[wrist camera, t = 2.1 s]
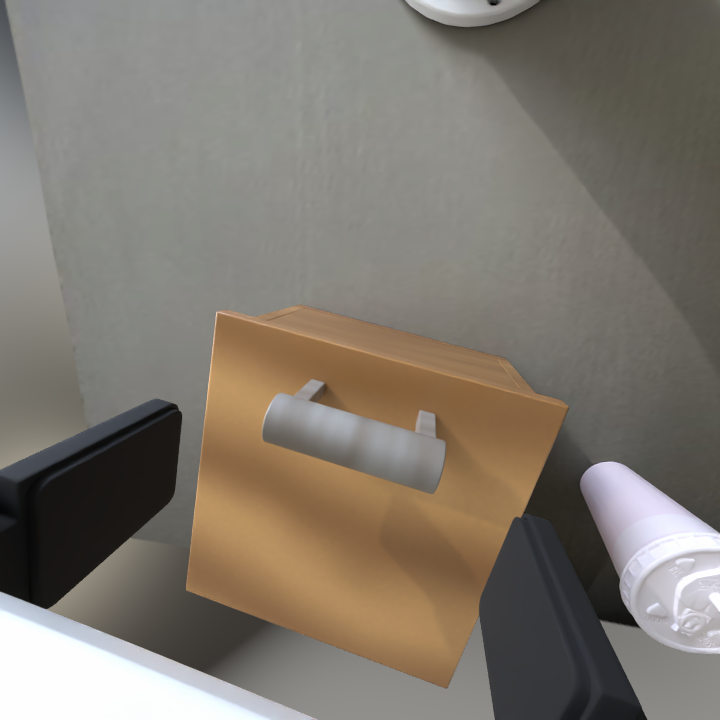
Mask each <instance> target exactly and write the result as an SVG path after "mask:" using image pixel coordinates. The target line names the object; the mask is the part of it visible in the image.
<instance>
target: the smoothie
mask: <svg viewBox="0 0 720 720" xmlns="http://www.w3.org/2000/svg"><path fill="white" fill-rule="evenodd" d="M580 489H581V492H582V494H583V497H584V499H585V501H586V503H587V506H588V508H589V510H590V512H591V515H592V517H593V519H594V521H595V524H596V526H597V528H598V530H599V533H600V535H601V537H602V539H603V542H604V544H605V546H606V548H607V551H608V553H609V555H610V557H611V560H612V562H613V564H614V567H615V569H616V571H617V573H618V576H619V578H620V585H619V587H620V592H621V597H622V600H623V602H624V604H625V606H626V607H627V609H628V611H629V612H630V613H631V614H632V615H633V617H634V619H635V620H636V622H637V624H638V625H639V626H640V627H641V629H642V630H643V631H644V632H645V633H647V634H648V635H649V636H650V637H652V638H653V639H655V640H656V641H658V642H660V643H662V644H664V645H666V646H668V647H671V648H673V649H677V650H680V651H684V652H689V653H695V654H720V533H718V532H717V531H716V530H714V529H713V528H712V527H710V526H709V525H707V524H706V523H704V522H703V521H701V520H700V519H699V518H697V517H696V516H695V515H693V514H692V513H690V512H689V511H688V510H686V509H685V508H683V507H682V506H681V505H679V504H678V503H677V502H675V501H674V500H672V499H671V498H670V497H668V496H667V495H665V494H664V493H663V492H661V491H660V490H659V489H657V488H656V487H654V486H653V485H652V484H650V483H649V482H647V481H646V480H645V479H643V478H642V477H641V476H639V475H638V474H636V473H635V472H634V471H632V470H631V469H629V468H628V467H627V466H625V465H623V464H620V463H617V462H602V463H598V464H596V465H593V466H592V467H590V468H589V469H588V470H586V472H585V473H584V474H583V476H582V478H581V481H580Z"/></svg>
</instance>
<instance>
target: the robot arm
mask: <svg viewBox="0 0 720 720" xmlns="http://www.w3.org/2000/svg"><path fill="white" fill-rule="evenodd" d="M405 1H406V2H407V3H408V4H409V5H410V6H411V7H413V8H414V9H416V10H417V11H418V12H420V13H421V14H423V15H424V16H426V17H427V18H430V19H432V20H435V21H438V22H440V23H443V24H445V25H452V26H460V27H475V26H485V25H490V24H493V23H497V22H500V21H503V20H506V19H510V18H511V17H513V16H515V15H517V14H519V13H521V12H523V11H525V10H527V9H529V8H530V7H532V6H533V5H535V4H536V3H537V2H539V1H540V0H405ZM491 3H495V4H497V5H496V6H491V5H490V4H491ZM181 423H182V413H181V412H180V411H179V409H178V406H177V405H176V404H173V403H170V402H167V401H164V400H160V399H153V400H150V401H148V402H146V403H144V404H142V405H140V406H137V407H135V408H133V409H131V410H129V411H127V412H124V413H122V414H120V415H118V416H116V417H114V418H111V419H109V420H107V421H105V422H103V423H101V424H98V425H96V426H94V427H92V428H90V429H88V430H85V431H83V432H81V433H79V434H77V435H75V436H73V437H70V438H68V439H66V440H64V441H62V442H59V443H57V444H55V445H53V446H51V447H49V448H46V449H44V450H42V451H40V452H38V453H36V454H33V455H31V456H29V457H27V458H25V459H23V460H21V461H18V462H16V463H14V464H12V465H10V466H8V467H5V468H3V469H1V470H0V720H317V719H315V718H313V717H310V716H308V715H305V714H303V713H301V712H298V711H296V710H293V709H290V708H288V707H286V706H283V705H281V704H279V703H276V702H274V701H271V700H269V699H266V698H264V697H261V696H259V695H256V694H254V693H252V692H249V691H247V690H244V689H242V688H239V687H237V686H234V685H232V684H229V683H227V682H225V681H222V680H220V679H217V678H215V677H212V676H210V675H208V674H205V673H203V672H200V671H198V670H195V669H193V668H190V667H188V666H185V665H183V664H181V663H178V662H175V661H173V660H171V659H168V658H166V657H163V656H161V655H158V654H156V653H153V652H151V651H148V650H146V649H143V648H141V647H139V646H136V645H134V644H131V643H129V642H126V641H123V640H121V639H119V638H116V637H114V636H111V635H109V634H106V633H104V632H101V631H98V630H96V629H94V628H91V627H89V626H86V625H84V624H81V623H79V622H76V621H74V620H71V619H69V618H66V617H64V616H61V615H58V614H56V613H54V612H51V611H48V610H46V609H48V608H50V607H51V606H53V605H54V604H56V603H57V602H58V601H59V600H60V599H61V598H62V597H64V595H66V594H67V593H68V592H69V591H70V590H71V589H72V588H74V587H75V586H76V585H77V584H78V583H79V582H80V581H82V580H83V579H84V578H85V577H86V576H87V575H88V574H89V573H90V572H92V571H93V570H94V569H95V568H96V567H97V566H98V565H99V564H101V563H102V562H103V561H104V560H105V559H106V558H107V557H109V556H110V555H111V554H112V553H113V552H114V551H115V550H116V549H118V548H119V547H120V546H121V545H122V544H123V543H124V542H125V541H127V540H128V539H129V538H130V537H131V536H132V535H133V534H134V533H136V532H137V531H138V530H139V529H140V528H141V527H142V526H143V525H145V524H146V523H147V522H148V521H149V520H150V519H151V518H153V517H154V516H155V515H156V514H157V513H158V512H159V511H160V510H162V509H163V508H164V507H165V506H166V505H167V504H168V503H169V502H170V500H171V499H172V497H173V495H174V492H175V485H176V474H177V464H178V454H179V444H180V434H181ZM479 615H480V622H481V629H482V635H483V642H484V649H485V655H486V662H487V669H488V676H489V683H490V689H491V696H492V702H493V709H494V716H495V720H647V718H646V716H645V714H644V712H643V710H642V707H641V705H640V703H639V700H638V698H637V696H636V695H635V692H634V690H633V688H632V686H631V684H630V682H629V680H628V678H627V676H626V674H625V672H624V670H623V668H622V666H621V664H620V662H619V660H618V658H617V656H616V654H615V652H614V650H613V648H612V646H611V644H610V641H609V639H608V637H607V636H606V633H605V631H604V629H603V627H602V625H601V623H600V621H599V619H598V617H597V615H596V613H595V611H594V609H593V607H592V605H591V603H590V601H589V598H588V596H587V594H586V592H585V590H584V588H583V586H582V584H581V582H580V580H579V578H578V576H577V574H576V572H575V570H574V568H573V566H572V564H571V562H570V560H569V558H568V556H567V554H566V552H565V550H564V547H563V545H562V543H561V541H560V539H559V537H558V535H557V533H556V531H555V529H554V527H553V525H552V523H551V522H550V521H549V520H546V519H543V518H539V517H536V516H533V515H530V514H527V513H525V514H523V515H522V516H521V518H520V517H515V518H514V519H513V521H512V523H511V526H510V528H509V530H508V533H507V535H506V537H505V540H504V542H503V545H502V547H501V549H500V552H499V554H498V556H497V559H496V561H495V564H494V566H493V568H492V571H491V573H490V576H489V578H488V580H487V583H486V585H485V587H484V590H483V592H482V595H481V597H480V602H479Z"/></svg>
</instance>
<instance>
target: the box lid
mask: <svg viewBox="0 0 720 720" xmlns="http://www.w3.org/2000/svg"><path fill="white" fill-rule="evenodd" d="M568 409H569V407H568V406H567V405H566V404H565V403H564V402H563V401H562V400H558V399H554V398H551V397H547V396H543V395H540V394H536V393H532V392H529V391H525V390H521V389H517V388H514V387H510V386H506V385H503V384H499V383H495V382H492V381H488V380H484V379H481V378H477V377H473V376H469V375H466V374H462V373H458V372H455V371H451V370H447V369H444V368H440V367H436V366H432V365H429V364H425V363H421V362H418V361H414V360H410V359H407V358H403V357H399V356H396V355H392V354H388V353H384V352H381V351H377V350H373V349H370V348H366V347H362V346H359V345H355V344H351V343H347V342H344V341H340V340H336V339H333V338H329V337H325V336H322V335H318V334H314V333H311V332H307V331H303V330H299V329H296V328H292V327H288V326H285V325H281V324H277V323H274V322H270V321H266V320H262V319H259V318H255V317H251V316H248V315H244V314H240V313H237V312H233V311H229V310H222V311H217V314H216V323H215V332H214V341H213V350H212V359H211V368H210V377H209V386H208V395H207V404H206V413H205V422H204V431H203V440H202V449H201V458H200V467H199V476H198V486H197V495H196V504H195V513H194V522H193V531H192V540H191V549H190V558H189V567H188V577H187V585H186V590H187V591H189V592H192V593H195V594H198V595H200V596H203V597H205V598H208V599H211V600H213V601H216V602H218V603H221V604H224V605H226V606H229V607H232V608H235V609H237V610H240V611H242V612H245V613H248V614H250V615H253V616H255V617H258V618H261V619H264V620H266V621H269V622H271V623H274V624H277V625H279V626H282V627H285V628H288V629H290V630H293V631H295V632H298V633H300V634H304V635H306V636H308V637H311V638H314V639H316V640H319V641H322V642H324V643H327V644H330V645H332V646H335V647H337V648H340V649H343V650H345V651H348V652H351V653H353V654H356V655H359V656H361V657H364V658H367V659H369V660H372V661H374V662H377V663H380V664H383V665H385V666H388V667H390V668H393V669H395V670H398V671H401V672H404V673H406V674H409V675H412V676H414V677H417V678H420V679H422V680H425V681H427V682H430V683H432V684H435V685H438V686H440V687H443V688H448V685H449V683H450V681H451V678H452V676H453V674H454V671H455V669H456V667H457V665H458V662H459V660H460V658H461V656H462V653H463V651H464V649H465V646H466V644H467V642H468V639H469V637H470V635H471V632H472V630H473V628H474V626H475V623H476V621H477V619H478V616H479V602H480V597H481V595H482V592H483V590H484V587H485V585H486V583H487V580H488V578H489V576H490V573H491V571H492V568H493V566H494V564H495V561H496V559H497V556H498V554H499V552H500V549H501V547H502V545H503V542H504V540H505V537H506V535H507V533H508V530H509V528H510V526H511V523H512V521H513V519H514V518H515V517H520V518H521V516H522V515H523V513H524V511H525V508H526V506H527V504H528V501H529V499H530V497H531V494H532V492H533V490H534V488H535V485H536V483H537V481H538V478H539V476H540V474H541V471H542V469H543V467H544V465H545V462H546V460H547V458H548V455H549V453H550V451H551V448H552V446H553V444H554V442H555V439H556V437H557V435H558V432H559V430H560V428H561V425H562V423H563V421H564V419H565V416H566V414H567V412H568Z"/></svg>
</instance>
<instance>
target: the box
mask: <svg viewBox="0 0 720 720" xmlns="http://www.w3.org/2000/svg"><path fill="white" fill-rule="evenodd" d="M255 318H259V319H262V320H266V321H270V322H274V323H277V324H281V325H285V326H288V327H292V328H296V329H299V330H303V331H307V332H311V333H314V334H318V335H322V336H325V337H329V338H333V339H336V340H340V341H344V342H347V343H351V344H355V345H359V346H362V347H366V348H370V349H373V350H377V351H381V352H384V353H388V354H392V355H396V356H399V357H403V358H407V359H410V360H414V361H418V362H421V363H425V364H429V365H432V366H436V367H440V368H444V369H447V370H451V371H455V372H458V373H462V374H466V375H469V376H473V377H477V378H481V379H484V380H488V381H492V382H495V383H499V384H503V385H506V386H510V387H514V388H517V389H521V390H525V391H529V392H532V393H535V392H534V391H533V390H532V389H531V388H530V386H529V385H528V384H527V383H526V382H525V380H524V379H523V378H522V377H521V376H520V375H519V373H518V372H517V371H516V370H515V369H514V367H513V366H512V365H511V364H510V363H509V362H508V360H507V359H505V358H502V357H498V356H494V355H490V354H486V353H483V352H479V351H475V350H471V349H467V348H463V347H460V346H456V345H452V344H448V343H444V342H441V341H437V340H433V339H429V338H425V337H421V336H418V335H414V334H410V333H406V332H402V331H398V330H395V329H391V328H387V327H383V326H379V325H376V324H372V323H368V322H364V321H360V320H356V319H353V318H349V317H345V316H341V315H337V314H334V313H330V312H326V311H322V310H318V309H314V308H311V307H307V306H303V305H296V306H292V307H289V308H285V309H282V310H278V311H275V312H271V313H268V314H264V315H260V316H257V317H255Z"/></svg>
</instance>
